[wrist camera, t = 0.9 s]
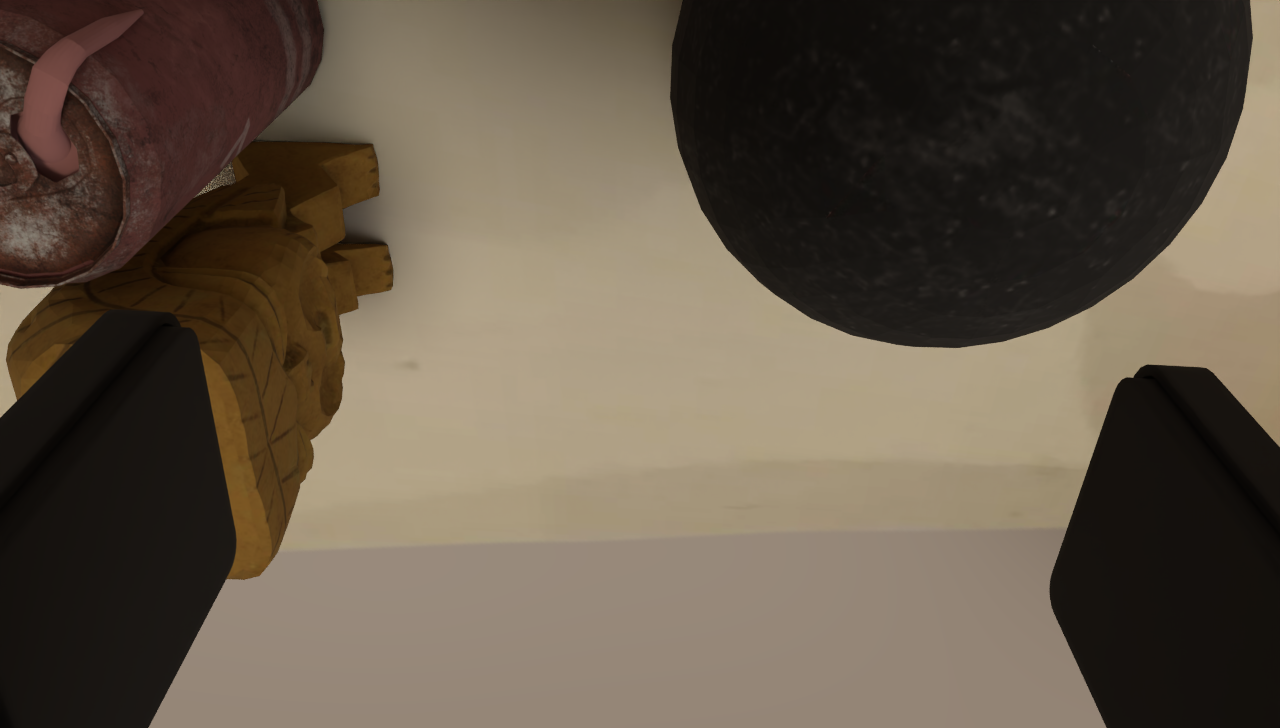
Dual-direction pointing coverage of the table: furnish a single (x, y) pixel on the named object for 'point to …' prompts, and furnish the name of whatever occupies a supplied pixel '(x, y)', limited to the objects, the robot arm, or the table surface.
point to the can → (130, 118)
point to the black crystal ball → (954, 150)
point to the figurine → (246, 315)
